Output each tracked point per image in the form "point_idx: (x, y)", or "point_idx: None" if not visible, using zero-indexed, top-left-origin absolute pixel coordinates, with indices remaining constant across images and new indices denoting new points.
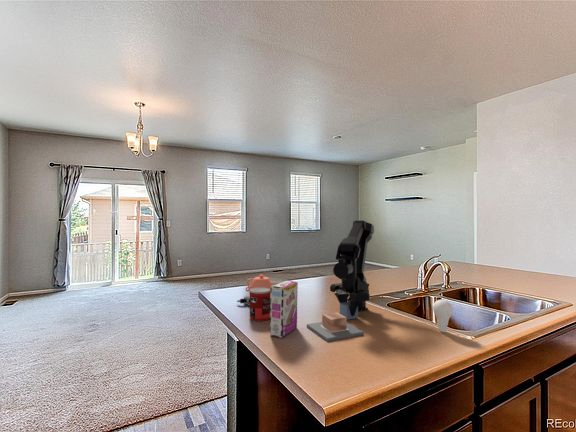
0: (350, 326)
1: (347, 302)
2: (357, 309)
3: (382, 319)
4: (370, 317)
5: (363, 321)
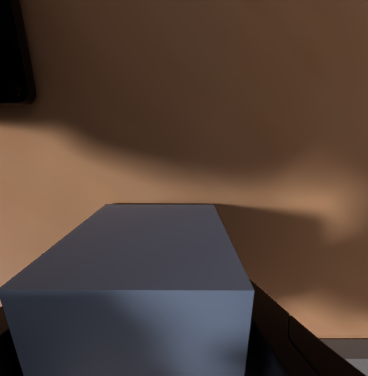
0: (366, 373)
1: (49, 359)
2: (229, 247)
3: (350, 3)
4: (243, 83)
5: (290, 207)
